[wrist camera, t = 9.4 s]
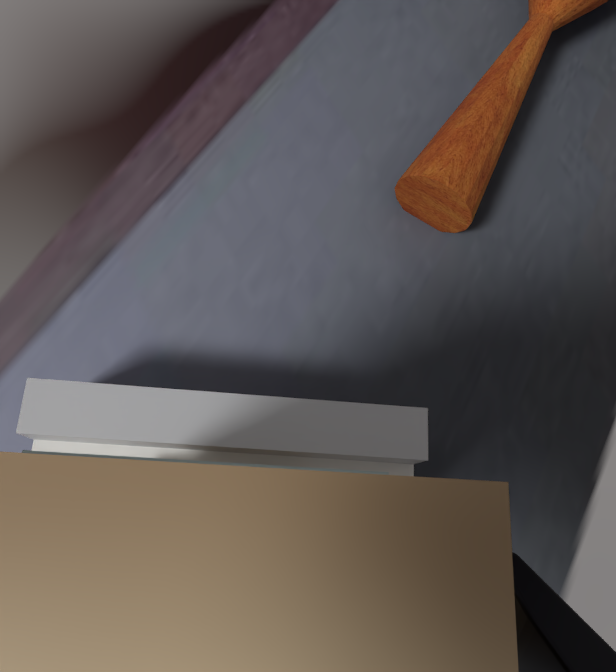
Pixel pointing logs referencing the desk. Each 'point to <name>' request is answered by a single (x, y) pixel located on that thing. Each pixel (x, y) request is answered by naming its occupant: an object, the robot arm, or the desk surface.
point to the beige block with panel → (249, 568)
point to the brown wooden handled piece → (481, 126)
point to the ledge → (222, 427)
